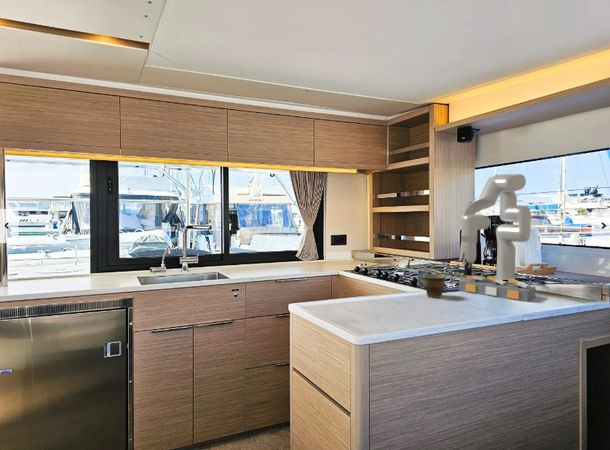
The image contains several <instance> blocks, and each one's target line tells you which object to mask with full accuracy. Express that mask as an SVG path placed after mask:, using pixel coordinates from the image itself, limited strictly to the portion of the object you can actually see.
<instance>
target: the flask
mask: <svg viewBox="0 0 610 450" xmlns="http://www.w3.org/2000/svg"><path fill="white" fill-rule="evenodd" d="M427 268H428V267H427V266H426V267H425V266H424V267H423V268H422V269H420V268H419V269H417V286H418V287H421V288H424V287H423V286H425V282H424V280H423V279H422V278H419V277H423V278H424V275H426V274H432V271H430V270H428V269H427ZM418 278H419V280H418ZM418 281H419V282H420V283H421V284H422V285H423V286H422V285H421V284H420V283H419V282H418Z"/></svg>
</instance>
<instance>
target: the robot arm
mask: <svg viewBox="0 0 610 450" xmlns="http://www.w3.org/2000/svg"><path fill="white" fill-rule="evenodd" d="M526 183H527V180H526V176H525V175H523V174H521V173H510V174H507V173H505V174H497V175H495V176H492V177H488V179H487V180H486V183H485V184H484V187H483V189H482V190H481V191H482V192H481V193H480V195H479V197H478V198H477V199H475V200H474V201H472V202H471V203H469V205H467V206H466V208H465V209H464V212H463V213H462V215H461V219H460V226H461V239H460V242H461V243H460V247H459V259H458V260H459V262H462V265H463V269H464V270H463V275H464V276H466V277H467V276H470V275H473V274H472V273H473V266H474V265H473V264H474V263H475V261H476V259H477V243H478V230H481V231H484V230H486V229H488V228H489V227H490V225H491V219H490V218H489V216H487V215H485V214H484V215H483V214H482V215H481V214H477V213H478V212H480V211H483V210H487V209H488V208H491V207H493V206H495V205H496V203H497V201H498V198H499V219H500V220H501V221H503V222H506V223H503V224H499V225H498V226H497V227H496V228H495V229H496V230H495V236H496V244H497V247H496V248H497V251H496V253H497V254H496V255H497V256H496V274H495V275H493V277H496V278H498V279H501V280H509V279H511V278H512V279H514V278H516V277H517V276H516V256H517V255H516V254H517V253H516V250H517V249H516V246H515V244H514V243H513V242H516V243H526V242H528V241H529V239H530V237H531V222H532V214H531V213H532V212H531V209H530V208H529V207H528V206H527V205H520V204H519V205H517V203H518V201H517V200H518V199H517V194H516V191H517V192H518V191H520V190H523V189H524V188H525V186H526ZM507 222H508V223H509V224H508V223H507ZM510 223H511V224H510ZM512 223H518V224H512Z"/></svg>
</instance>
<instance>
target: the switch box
mask: <svg viewBox="0 0 610 450" xmlns="http://www.w3.org/2000/svg"><path fill="white" fill-rule="evenodd" d="M458 284H459V285H458V286H459V287H458V291H459V292H464V293H471V294H477V295H483V296H489V297H495V298H502V299H507V300H508V299H509V300H514V301H518V300H519V301H520V302H525V301H526V302H530V301H531V300H532V299H534V298H536V286H532V285H528V287H527V288H524V287H521V286H518V285H515V284H513V283H511V282H506V284H504V285H502V284H499V283H497V282H494V281H492V280H489V279H484V280H478V279H472V278H467V277H466V278H464V279H462V280H460V281H458ZM519 301H518V302H519Z"/></svg>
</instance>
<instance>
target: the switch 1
mask: <svg viewBox="0 0 610 450" xmlns="http://www.w3.org/2000/svg"><path fill="white" fill-rule="evenodd" d="M467 278H472V279H478V280H486V279H487V277H486V276H480V275H474V274H472V275H470V276H466V279H467Z"/></svg>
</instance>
